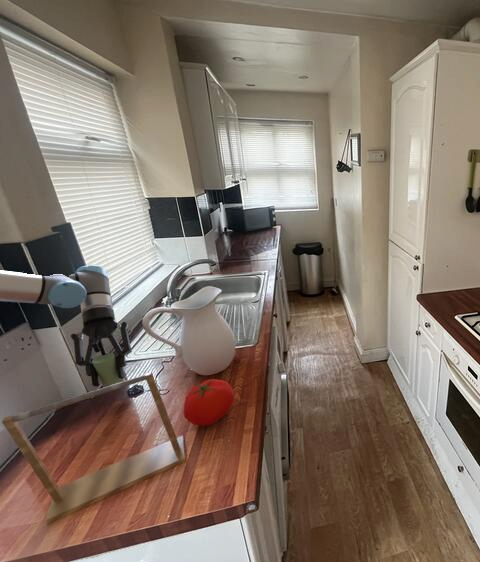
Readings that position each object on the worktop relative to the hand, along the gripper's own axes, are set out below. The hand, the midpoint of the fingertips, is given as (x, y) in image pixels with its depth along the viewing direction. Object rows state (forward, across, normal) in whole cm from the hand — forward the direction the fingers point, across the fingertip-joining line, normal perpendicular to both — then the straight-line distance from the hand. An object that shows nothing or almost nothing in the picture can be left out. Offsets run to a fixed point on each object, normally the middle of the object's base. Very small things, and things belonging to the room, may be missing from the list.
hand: (108, 381), depth 90 cm
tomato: (+22, -24, +9) cm, 33 cm away
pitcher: (+4, -24, -9) cm, 26 cm away
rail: (+27, -4, +15) cm, 31 cm away
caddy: (0, 0, -5) cm, 5 cm away
